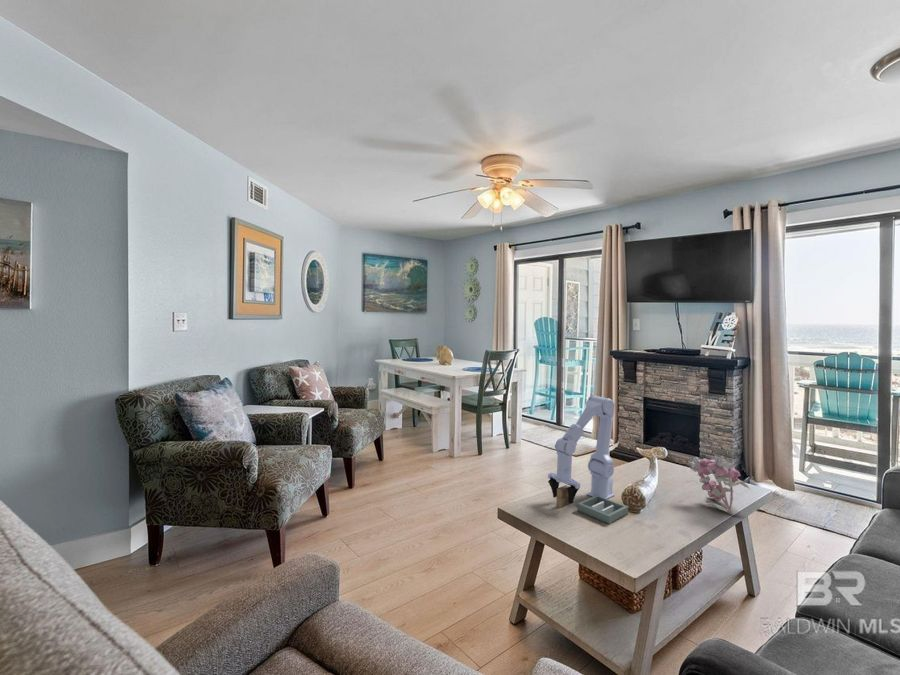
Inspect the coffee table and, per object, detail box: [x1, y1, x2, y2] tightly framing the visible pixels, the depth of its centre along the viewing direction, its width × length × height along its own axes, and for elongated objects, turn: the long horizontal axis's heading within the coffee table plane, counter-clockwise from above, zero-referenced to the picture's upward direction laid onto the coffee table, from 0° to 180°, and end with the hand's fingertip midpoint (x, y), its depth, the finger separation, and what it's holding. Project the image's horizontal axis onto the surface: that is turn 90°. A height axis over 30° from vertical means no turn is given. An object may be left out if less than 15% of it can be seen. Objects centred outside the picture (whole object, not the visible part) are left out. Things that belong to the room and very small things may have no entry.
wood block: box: [556, 484, 570, 509], centre depth 183 cm, size 6×2×8 cm, turn 130°
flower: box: [687, 454, 750, 516], centre depth 185 cm, size 20×22×24 cm
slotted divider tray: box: [576, 495, 629, 525], centre depth 176 cm, size 14×14×3 cm
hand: (562, 499), depth 183 cm, fingers open, 7 cm apart
